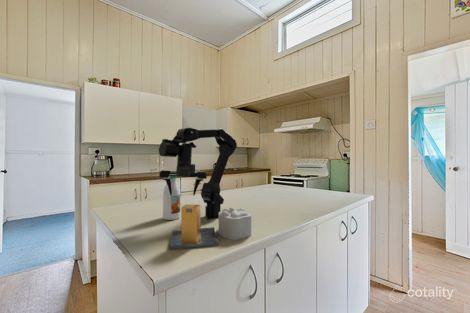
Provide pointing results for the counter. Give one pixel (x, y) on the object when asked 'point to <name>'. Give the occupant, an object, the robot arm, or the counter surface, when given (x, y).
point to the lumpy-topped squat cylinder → (234, 223)
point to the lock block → (190, 223)
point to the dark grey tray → (206, 240)
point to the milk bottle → (171, 201)
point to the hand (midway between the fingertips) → (182, 195)
